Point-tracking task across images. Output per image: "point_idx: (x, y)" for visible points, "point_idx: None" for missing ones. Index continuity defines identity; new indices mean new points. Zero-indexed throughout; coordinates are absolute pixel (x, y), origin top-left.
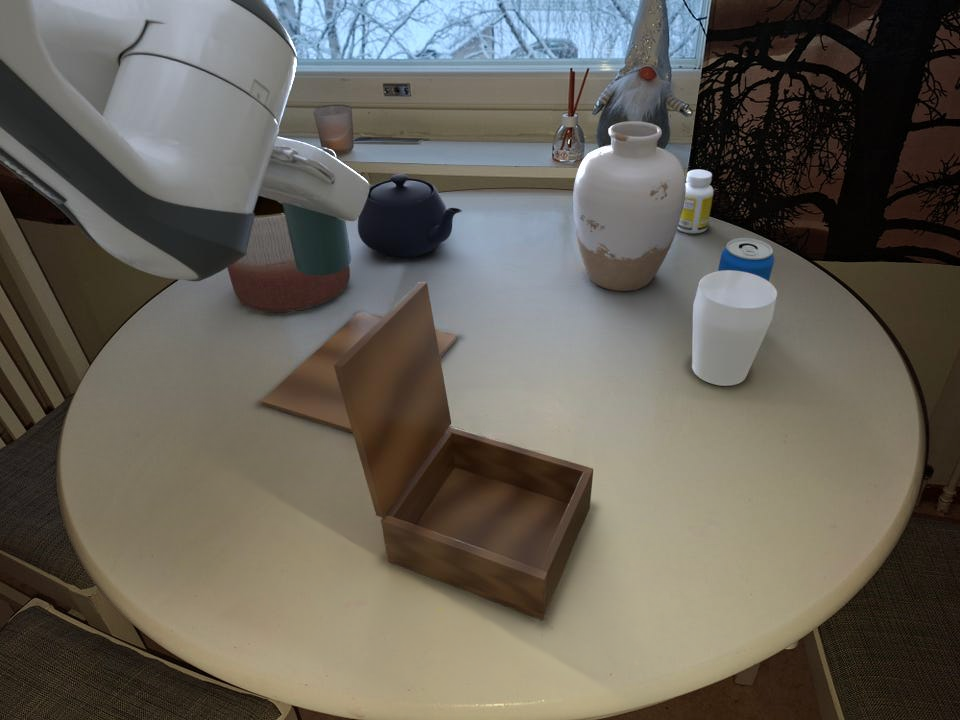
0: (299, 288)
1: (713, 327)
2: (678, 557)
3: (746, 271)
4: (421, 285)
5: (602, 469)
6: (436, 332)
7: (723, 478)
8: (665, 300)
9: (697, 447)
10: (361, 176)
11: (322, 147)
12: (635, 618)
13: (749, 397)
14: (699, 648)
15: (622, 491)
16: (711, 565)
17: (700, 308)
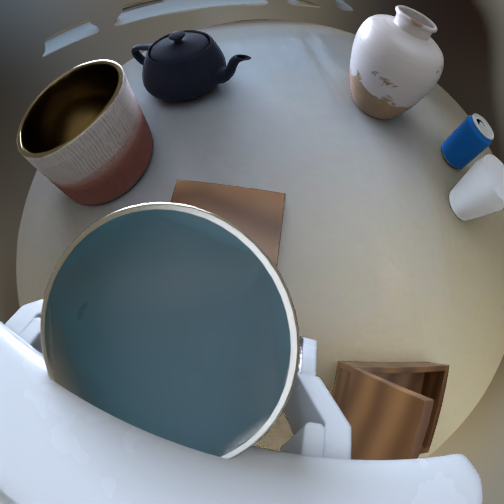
0: (117, 181)
1: (488, 206)
2: (462, 372)
3: (484, 145)
4: (429, 409)
5: (429, 324)
6: (264, 193)
7: (476, 305)
8: (411, 129)
9: (466, 283)
10: (482, 498)
11: (177, 204)
12: (445, 416)
13: (476, 228)
14: (464, 415)
15: (440, 339)
16: (472, 369)
17: (485, 192)
